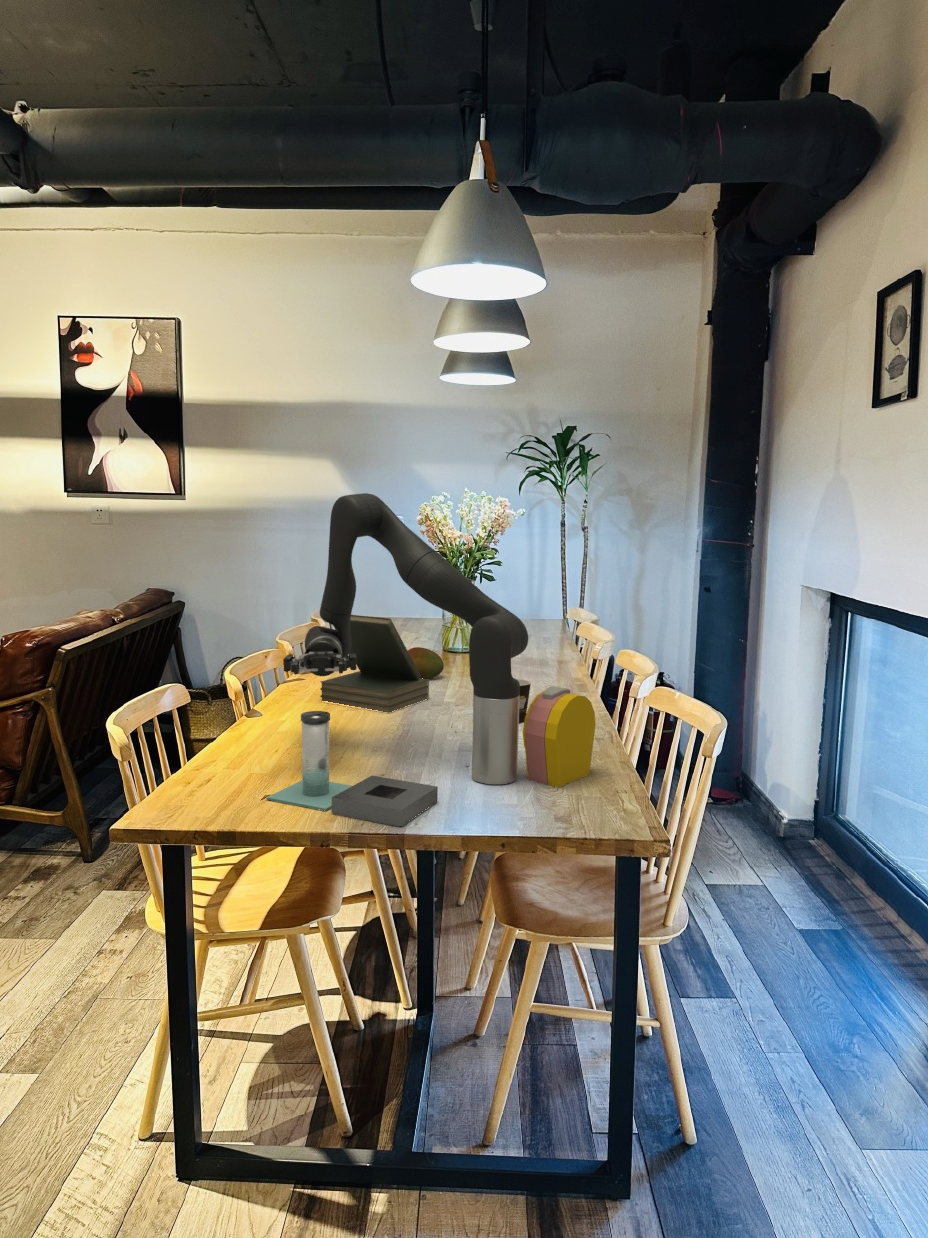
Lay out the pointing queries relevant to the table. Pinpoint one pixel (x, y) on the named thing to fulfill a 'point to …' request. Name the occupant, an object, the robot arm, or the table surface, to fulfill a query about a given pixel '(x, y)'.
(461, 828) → the table surface
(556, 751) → the yellow and pink lunchbox
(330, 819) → the table surface
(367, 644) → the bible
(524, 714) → the coffee mug
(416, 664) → the fruit
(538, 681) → the table surface
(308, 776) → the tumbler with black lid
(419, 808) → the collar block
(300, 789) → the rubber mat
